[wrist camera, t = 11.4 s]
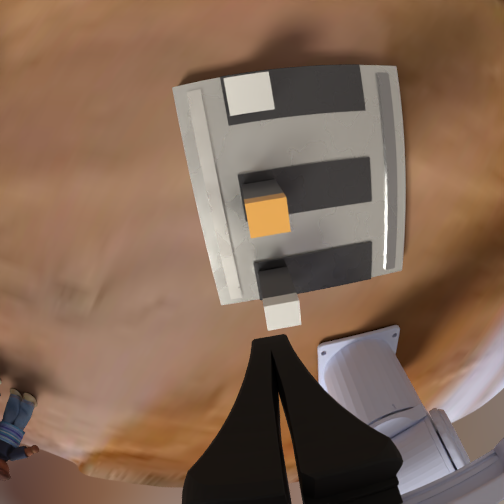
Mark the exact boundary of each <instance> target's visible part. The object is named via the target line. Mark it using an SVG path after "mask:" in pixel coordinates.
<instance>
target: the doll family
mask: <svg viewBox="0 0 504 504" xmlns="http://www.w3.org/2000/svg"><path fill="white" fill-rule="evenodd" d="M0 384H1V379H0ZM10 393H11V394H10V397H9V400H8V402H7V405H6V408H5V412H4V415H3V419H2V421H0V480H2V481H6V480H9V479H10V478H11V477H10V475H9V467H8V465H7V463H6V461H8V460H11V461H14V460H19V459H23V458H27V457H29V456H30V455H33V454H34V453H38V452H39V448H38V446H36V445H33V446H32V447H28V448H27V447H26V446H22V447H19V445H20V442H21V440H22V438H23V435H24V434H25V432H24V431H23V430H24V428H25V426H26V425H27V423H28V421H29V420H30V418H31V415H32V412H33V409H34V408H35V407H36V406H37V403H36V400H35V398H34V397H33V396H32V395H30V394H28V393H24V395H23V396H24V399H23V398H22V396H21V394H20V393H19V392H18V391H17V390H15V389H10ZM0 396H1V394H0Z"/></svg>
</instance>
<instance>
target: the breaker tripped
mask: <svg viewBox="0 0 504 504" xmlns="http://www.w3.org/2000/svg"><path fill="white" fill-rule="evenodd" d="M242 190H243V196H244V203H245V209H246V214H247V220H248V225H249V231H250V237H251V238H257V237H263V236H268V235H274V234H280V233H286V232H291V230H290V222H289V214H288V206H287V198H286V196H285V194H284V193H283V191H282V189H281V188H280V186H279V185H278V183H277V182H276V180H275V179H272V180H266V181H260V182H254V183H248V184H242Z"/></svg>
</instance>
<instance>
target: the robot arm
mask: <svg viewBox="0 0 504 504" xmlns="http://www.w3.org/2000/svg"><path fill="white" fill-rule="evenodd" d="M399 333H400V328H399V326H398V325H393V326H390V327H386V328H382V329H378V330H375V331H371V332H367V333H363V334H359V335H355V336H350V337H346V338H342V339H338V340H333V341H329V342H324V343H321V344H319V345H318V382H317V381H316V380H315V379H314V377H313V376H312V375H311V374H310V372H309V371H308V370H307V369H306V367H305V366H304V364H303V363H302V362H301V360H300V359H299V357H298V356H297V354H296V353H295V351H294V350H293V348H292V346H291V344H290V342H289V340H288V338H287V336H286V335H285V334H282V335H276V336H271V337H265V338H259V339H254V340H253V341H252V347H251V354H250V359H249V363H248V367H247V370H246V374H245V377H244V380H243V383H242V386H241V389H240V391H239V394H238V396H237V399H236V401H235V403H234V405H233V408H232V410H231V412H230V414H229V416H228V417H227V419H226V421H225V423H224V424H223V426H222V428H221V430H220V431H219V433H218V434H217V436H216V437H215V439H214V440H213V441H212V443H211V444H210V446H209V447H208V448H207V450H206V451H205V452H204V454H203V455H202V456H201V457H200V458H199V460H198V461H197V462H196V463H195V464H194V465H193V466H192V467H191V469H190V470H189V471H188V472H187V475H186V479H185V482H184V486H183V492H182V504H291V498H290V492H289V486H288V479H287V473H286V467H285V461H284V455H283V448H282V441H281V428H280V411H279V395H280V399H281V402H282V406H283V409H284V413H285V417H286V420H287V424H288V427H289V431H290V434H291V439H292V443H293V449H294V454H295V460H296V466H297V472H298V477H299V483H300V489H301V495H302V500H303V504H497V503H499V502H500V501H502V500H503V499H504V438H503V439H502V440H501V441H500V442H499V443H498V444H497V445H496V447H495V448H494V449H493V450H491V451H490V452H488V453H486V454H485V455H483V456H481V457H480V458H478V459H476V460H474V461H473V462H471V463H470V459H469V457H468V455H467V453H466V451H465V449H464V447H463V445H462V443H461V441H460V439H459V437H458V435H457V433H456V431H455V430H454V428H453V426H452V424H451V422H450V420H449V418H448V417H447V415H446V413H445V411H444V410H441V409H438V410H437V408H433V409H432V410H430V411H429V413H430V415H431V416H430V415H429V413H428V412H427V410H426V409H425V407H424V406H423V404H422V402H421V401H420V399H419V397H418V395H417V393H416V391H415V389H414V388H413V386H412V384H411V382H410V380H409V378H408V377H407V375H406V373H405V371H404V369H403V368H402V366H401V364H400V362H399V361H398V359H397V357H396V355H395V354H396V349H397V344H398V338H399ZM393 334H394V335H393ZM323 351H325V352H323ZM278 392H279V395H278ZM431 417H432V418H431Z"/></svg>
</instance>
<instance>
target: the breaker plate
mask: <svg viewBox="0 0 504 504" xmlns="http://www.w3.org/2000/svg"><path fill="white" fill-rule="evenodd" d="M261 72H269V77H270V83H271V89H272V95H273V101H274V107H275V109H273V110H265V111H258V112H252V113H245V114H239V115H233V116H230V112H229V106H228V101H227V95H226V89H225V84H224V78H227V77H233V76H240V75H246V74H253V73H261ZM172 89H173V94H174V99H175V105H176V110H177V115H178V120H179V125H180V130H181V135H182V140H183V145H184V150H185V154H186V159H187V164H188V169H189V173H190V178H191V182H192V187H193V191H194V196H195V200H196V205H197V209H198V213H199V218H200V222H201V226H202V230H203V234H204V239H205V243H206V247H207V251H208V255H209V259H210V263H211V267H212V271H213V275H214V279H215V283H216V287H217V291H218V294H219V298H220V302H221V305H226V304H232V303H239V302H245V301H250V300H256V299H260V300H263V299H262V293H261V287H260V281H259V275H258V272H259V271H265V270H271V269H277V268H282V267H288V270H289V273H290V275H291V278H292V281H293V284H294V287H295V290H296V293H297V294H299V293H304V292H309V291H314V290H320V289H325V288H330V287H335V286H340V285H344V284H349V283H354V282H359V281H363V280H368V279H371V277H375V276H379V275H384V274H388V273H393V272H397V271H401V270H402V264H403V251H404V234H405V202H406V178H405V147H404V130H403V118H402V107H401V97H400V89H399V81H398V74H397V67H396V66H382V65H319V66H302V67H290V68H279V69H270V70H262V71H254V72H247V73H240V74H234V75H228V76H222V77H219V78H214V79H208V80H203V81H199V82H194V83H189V84H185V85H181V86H176V87H172ZM272 179H275V180H276V182H277V183H278V185H279V186H280V188H281V189H282V191H283V193H284V194H285V196H286V198H287V206H288V214H289V222H290V230H291V232H286V233H280V234H274V235H268V236H263V237H257V238H251V237H250V231H249V225H248V220H247V214H246V209H245V203H244V196H243V190H242V184H248V183H254V182H260V181H266V180H272Z"/></svg>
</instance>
